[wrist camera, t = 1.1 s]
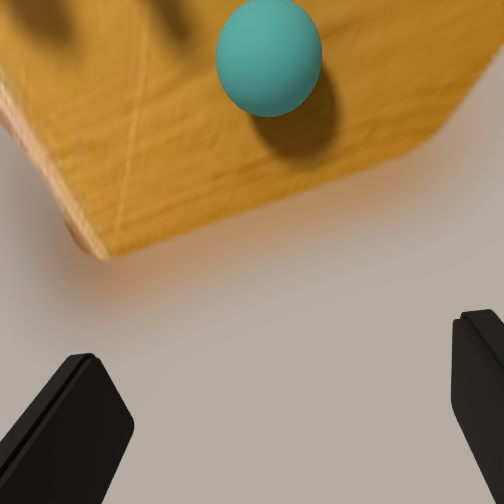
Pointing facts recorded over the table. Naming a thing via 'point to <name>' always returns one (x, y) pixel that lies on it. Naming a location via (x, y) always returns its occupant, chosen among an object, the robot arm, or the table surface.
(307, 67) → the ball
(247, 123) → the table surface
